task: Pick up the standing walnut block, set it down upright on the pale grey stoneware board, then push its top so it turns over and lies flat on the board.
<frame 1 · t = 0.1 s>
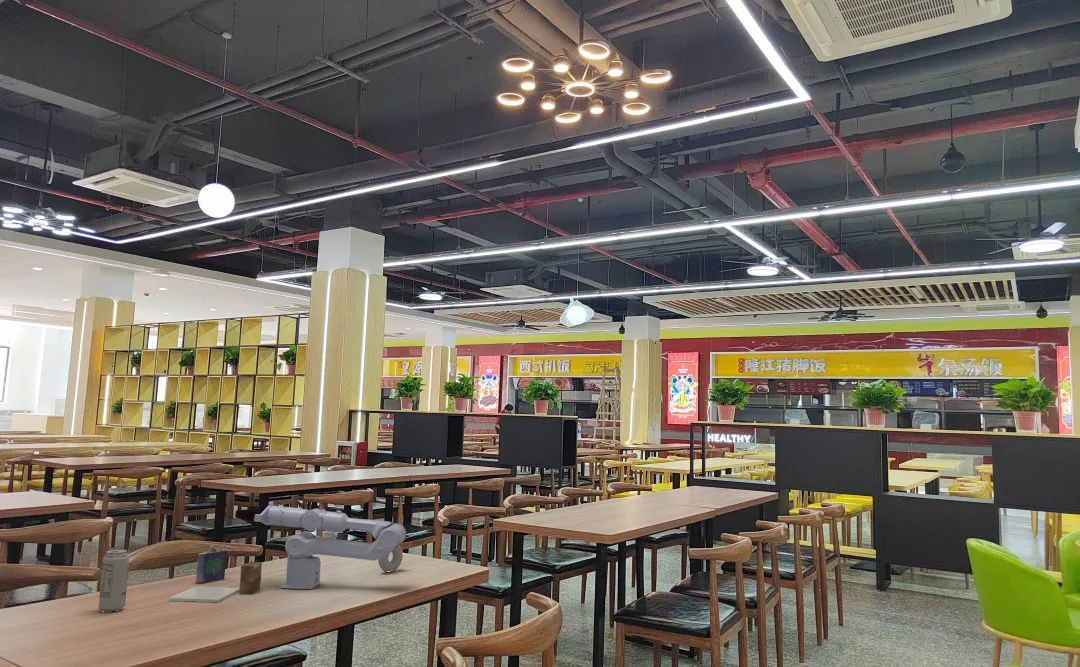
hand: (241, 512, 224), 22 cm above the table, tool horizontal, fingers open, 7 cm apart
flask: (210, 581, 225), on the table
donut: (389, 572, 243), on the table
stone board: (206, 595, 207), on the table
energy drink can: (111, 610, 190), on the table
walnut block: (249, 592, 212), on the table
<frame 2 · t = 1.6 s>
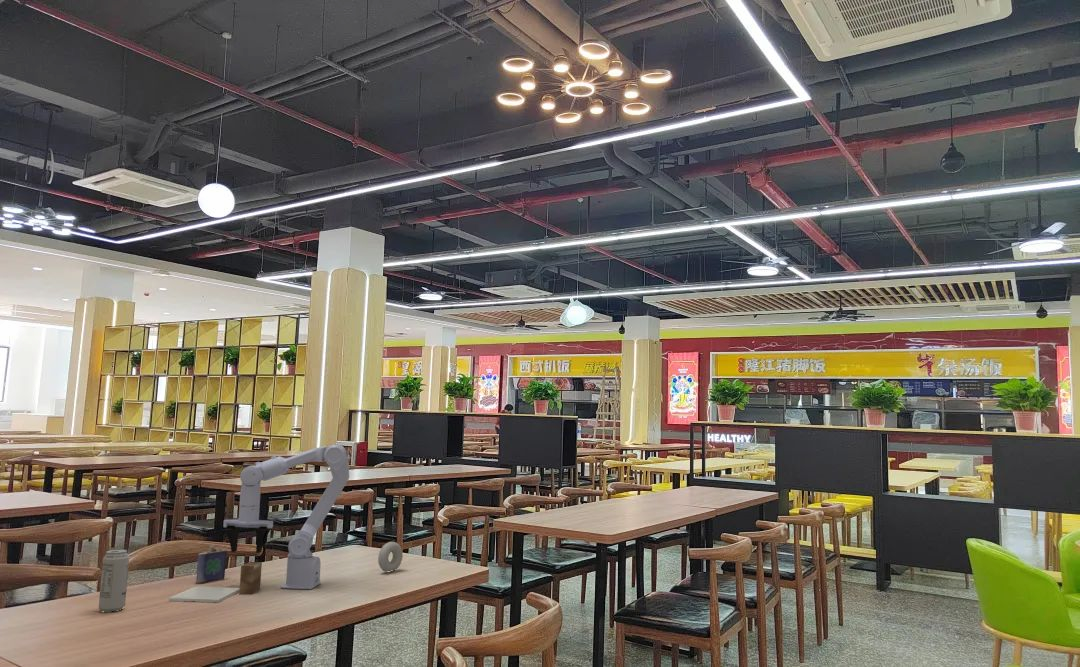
hand: (246, 551, 219), 10 cm above the table, tool pointing down, fingers open, 7 cm apart
nothing on the table moved.
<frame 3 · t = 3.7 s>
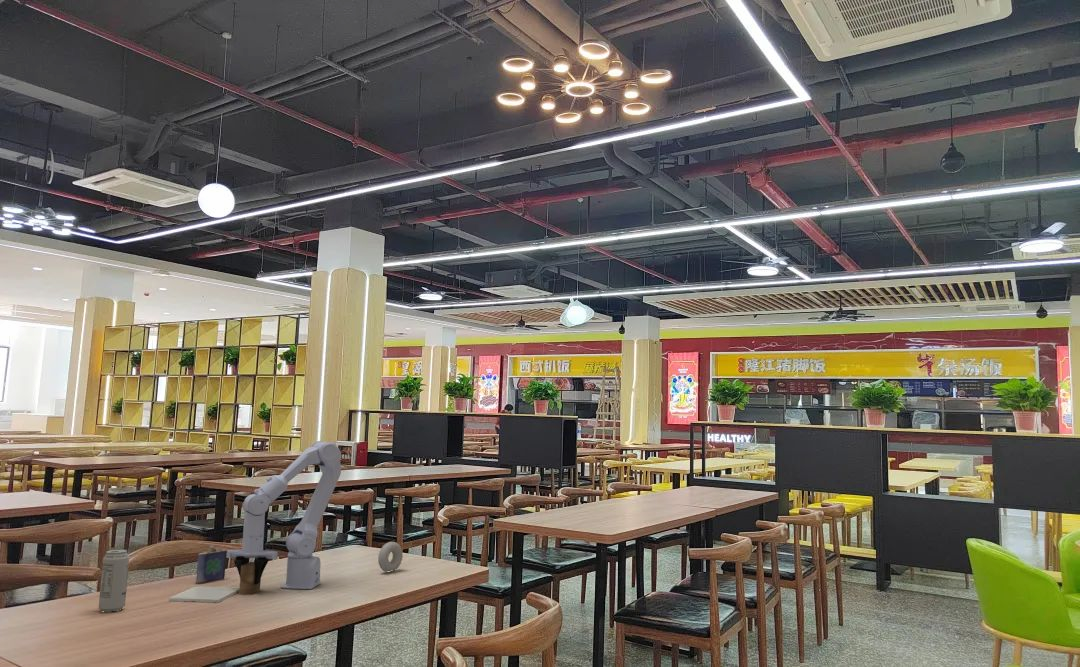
hand: (250, 583, 212), 2 cm above the table, tool pointing down, fingers closed on walnut block, 3 cm apart
walnut block: (249, 592, 212), on the table, touching gripper
everything else where it was.
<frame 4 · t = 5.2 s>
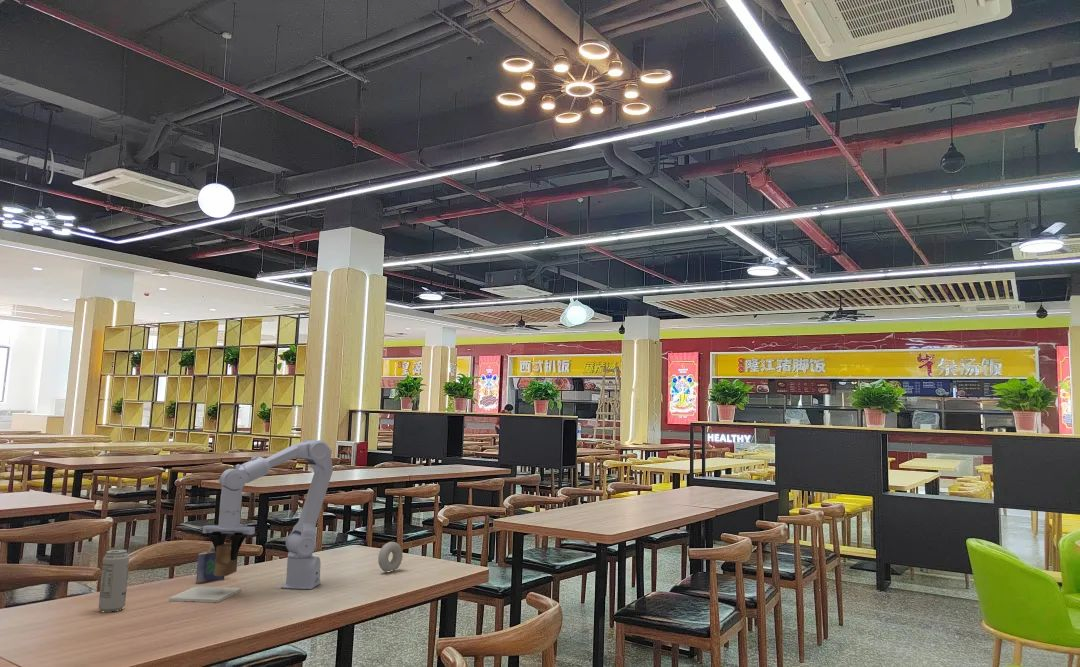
hand: (226, 559, 209), 10 cm above the table, tool pointing down, fingers closed on walnut block, 3 cm apart
walnut block: (225, 573, 208), point 6 cm above the table, touching gripper
everything else where it was.
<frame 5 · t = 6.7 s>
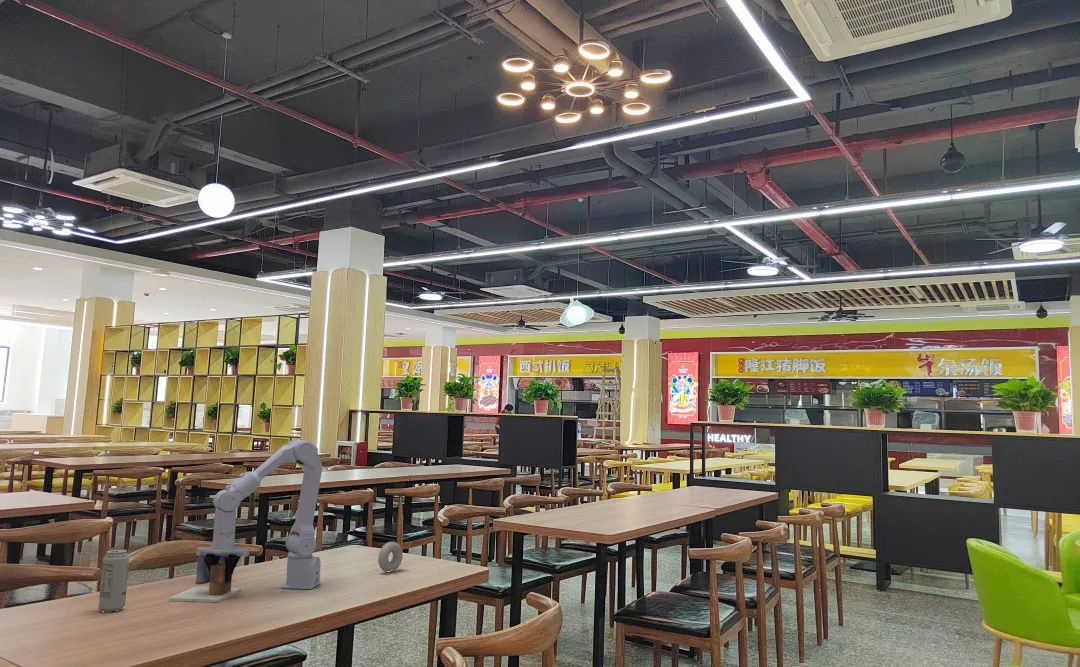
hand: (220, 581, 207), 4 cm above the table, tool pointing down, fingers closed on walnut block, 3 cm apart
walnut block: (219, 592, 207), point 1 cm above the table, touching gripper, stone board
everything else where it was.
when the fingers open (4 cm above the table, at t = 7.1 s): walnut block stays where it is, resting on stone board.
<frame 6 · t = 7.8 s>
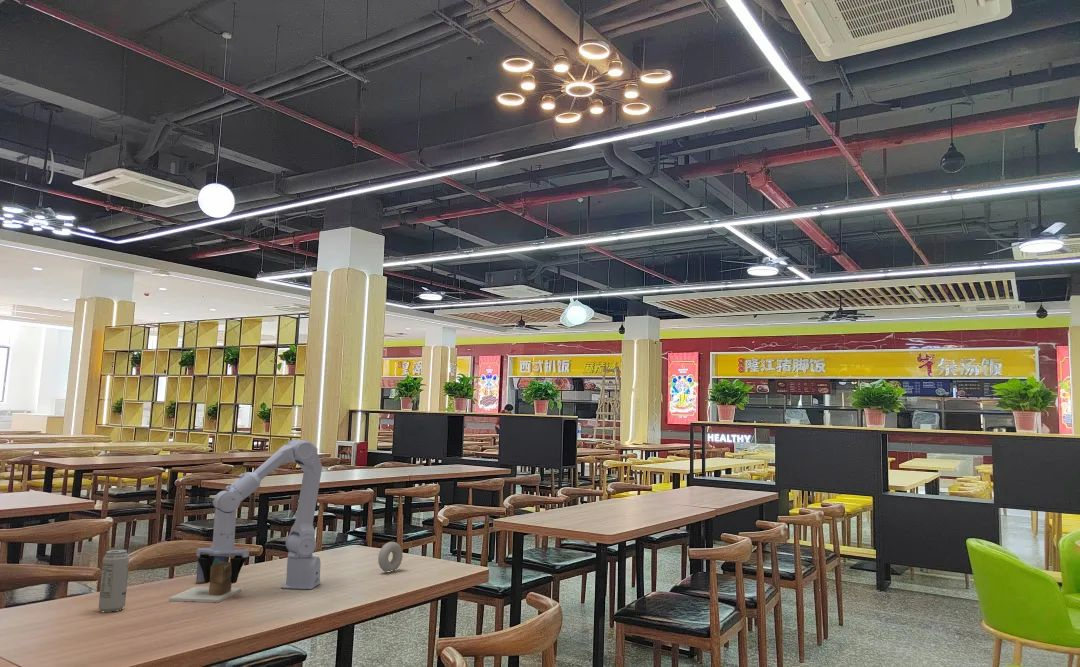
hand: (220, 582, 207), 4 cm above the table, tool pointing down, fingers open, 7 cm apart
walnut block: (219, 592, 207), point 1 cm above the table, touching stone board
everything else where it was.
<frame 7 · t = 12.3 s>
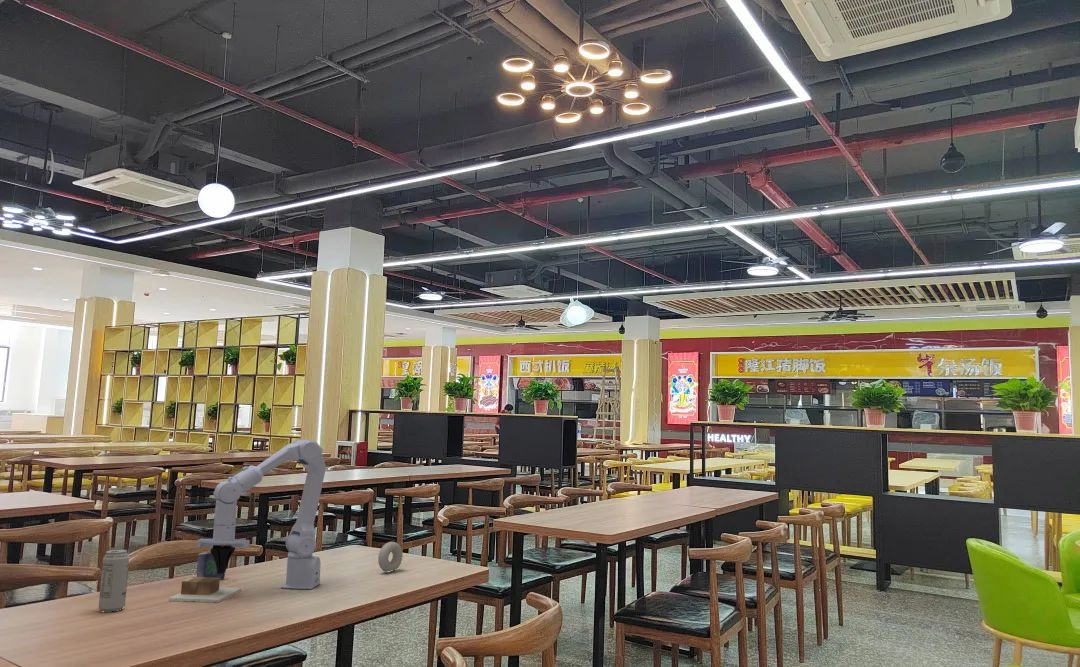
hand: (221, 573, 207), 6 cm above the table, tool pointing down, fingers closed
walnut block: (214, 586, 207), point 3 cm above the table, tilted 90°, touching stone board
everything else where it was.
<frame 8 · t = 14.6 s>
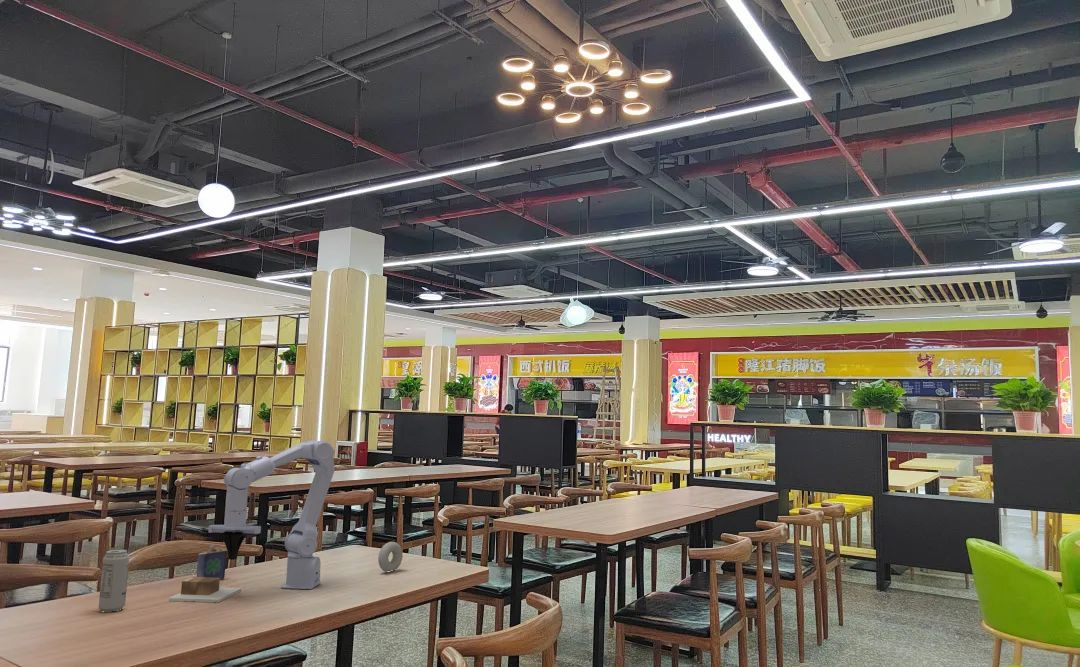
hand: (232, 558, 208), 10 cm above the table, tool pointing down, fingers closed
nothing on the table moved.
at the end: walnut block tilted 90°; walnut block 2.2 cm from the stone board (horizontally); the gripper is holding nothing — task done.
